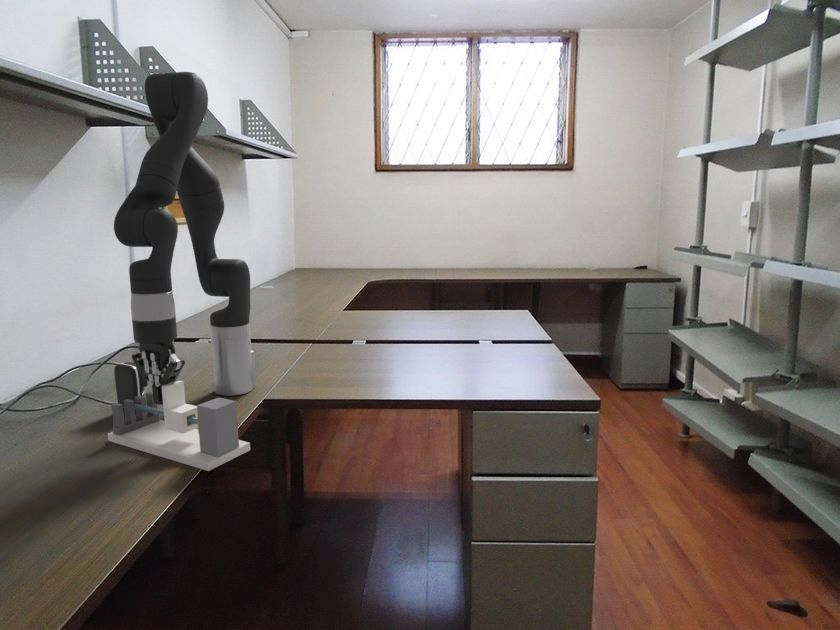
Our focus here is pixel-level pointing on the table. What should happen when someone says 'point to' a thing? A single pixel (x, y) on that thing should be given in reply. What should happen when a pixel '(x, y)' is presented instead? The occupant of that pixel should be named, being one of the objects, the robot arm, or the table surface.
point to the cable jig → (193, 448)
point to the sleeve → (177, 408)
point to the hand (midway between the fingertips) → (161, 403)
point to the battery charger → (128, 382)
